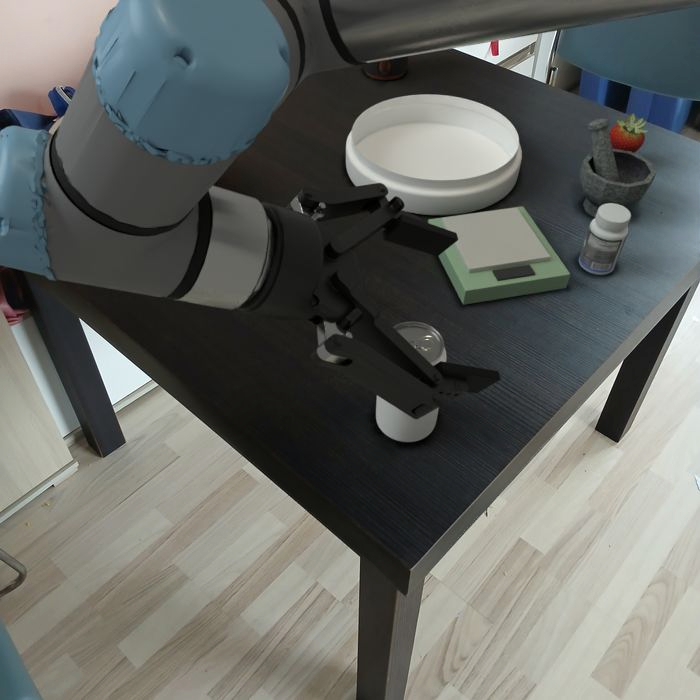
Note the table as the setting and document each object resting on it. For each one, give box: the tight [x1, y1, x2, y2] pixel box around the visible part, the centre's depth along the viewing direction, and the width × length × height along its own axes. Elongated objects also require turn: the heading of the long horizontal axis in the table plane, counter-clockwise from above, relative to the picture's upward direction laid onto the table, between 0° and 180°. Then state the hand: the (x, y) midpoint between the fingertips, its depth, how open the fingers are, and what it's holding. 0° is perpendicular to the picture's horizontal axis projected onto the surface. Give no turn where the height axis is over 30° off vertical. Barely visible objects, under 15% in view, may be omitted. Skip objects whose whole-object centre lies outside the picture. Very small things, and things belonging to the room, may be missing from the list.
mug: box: [362, 56, 409, 81], centre depth 122 cm, size 9×12×12 cm
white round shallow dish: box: [345, 93, 523, 216], centre depth 103 cm, size 27×27×6 cm
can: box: [375, 321, 447, 443], centre depth 66 cm, size 6×6×12 cm
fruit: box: [609, 112, 648, 154], centre depth 102 cm, size 5×5×8 cm
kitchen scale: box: [427, 205, 571, 306], centre depth 88 cm, size 15×14×3 cm
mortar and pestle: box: [578, 118, 657, 218], centre depth 93 cm, size 11×9×12 cm
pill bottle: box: [578, 203, 632, 276], centre depth 85 cm, size 5×5×8 cm
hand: (466, 310), depth 57 cm, fingers open, 13 cm apart
